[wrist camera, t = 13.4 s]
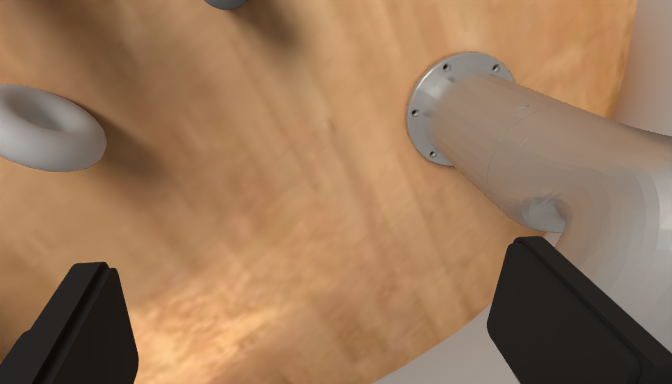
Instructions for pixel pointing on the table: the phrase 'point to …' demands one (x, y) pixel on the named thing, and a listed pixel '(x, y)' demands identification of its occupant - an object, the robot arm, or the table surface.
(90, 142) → the donut
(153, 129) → the table surface
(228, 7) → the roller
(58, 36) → the table surface
